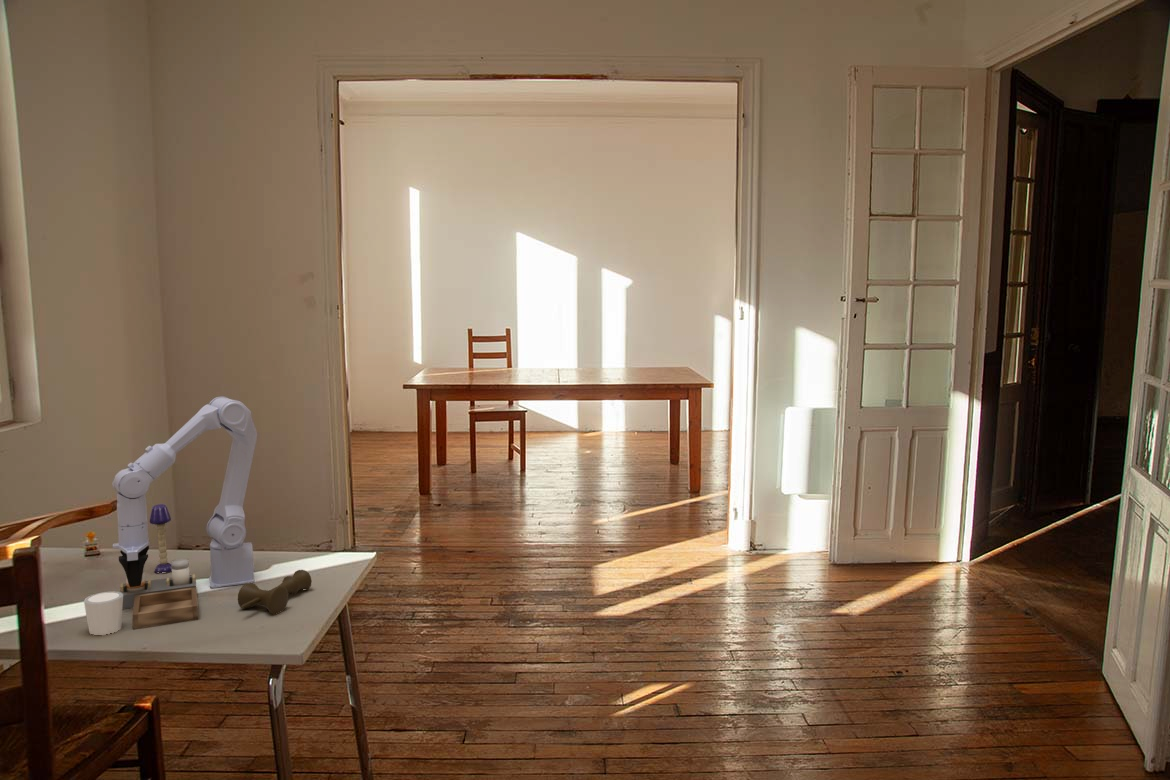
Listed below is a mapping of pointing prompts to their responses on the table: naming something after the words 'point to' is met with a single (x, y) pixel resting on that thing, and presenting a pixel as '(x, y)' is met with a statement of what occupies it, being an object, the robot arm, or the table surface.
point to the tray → (165, 607)
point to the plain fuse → (180, 572)
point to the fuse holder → (153, 589)
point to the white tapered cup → (104, 612)
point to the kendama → (274, 592)
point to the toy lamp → (161, 535)
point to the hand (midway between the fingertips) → (135, 582)
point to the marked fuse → (136, 588)
